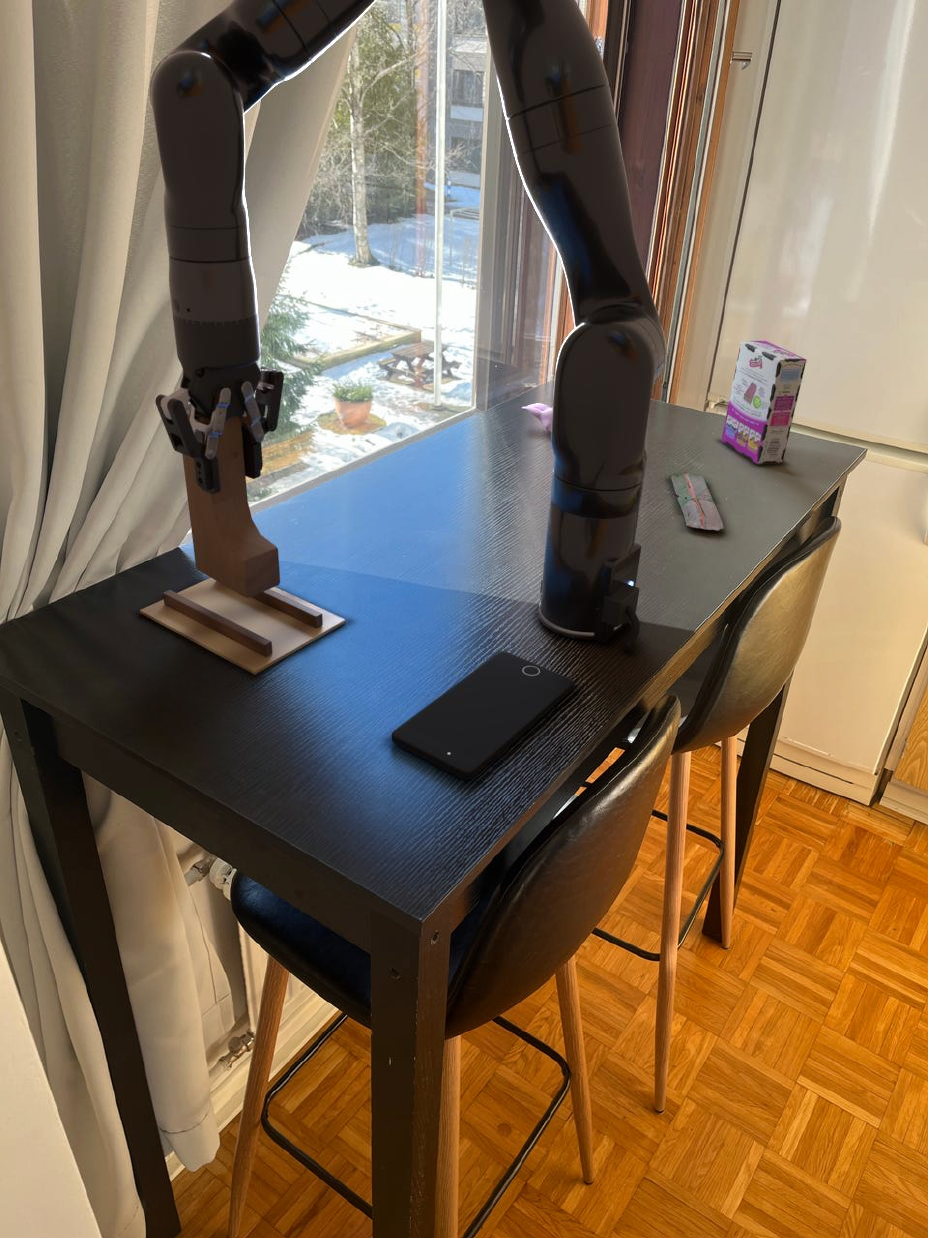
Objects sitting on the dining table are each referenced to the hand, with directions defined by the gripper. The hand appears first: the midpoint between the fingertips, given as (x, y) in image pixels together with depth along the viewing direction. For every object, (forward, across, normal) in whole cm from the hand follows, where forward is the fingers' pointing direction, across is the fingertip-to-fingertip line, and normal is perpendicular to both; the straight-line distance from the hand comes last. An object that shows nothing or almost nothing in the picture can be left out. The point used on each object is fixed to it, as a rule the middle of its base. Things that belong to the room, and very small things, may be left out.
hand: (231, 482), depth 94 cm
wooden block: (+11, 0, 0) cm, 11 cm away
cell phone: (+16, +3, -30) cm, 34 cm away
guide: (+16, 0, 0) cm, 16 cm away
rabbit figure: (+16, +72, +5) cm, 74 cm away
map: (+16, +62, -24) cm, 68 cm away
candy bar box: (+16, +87, -22) cm, 91 cm away
